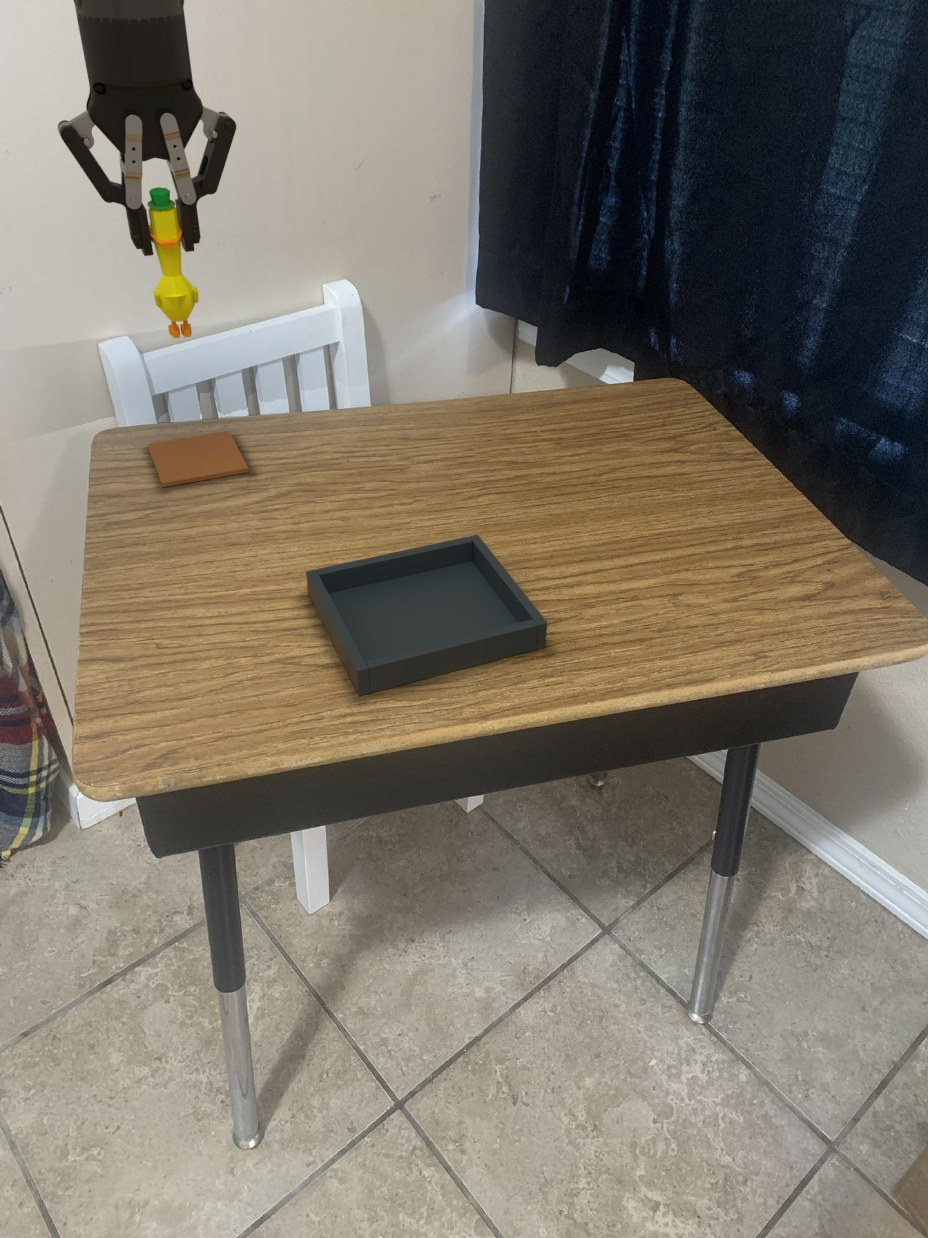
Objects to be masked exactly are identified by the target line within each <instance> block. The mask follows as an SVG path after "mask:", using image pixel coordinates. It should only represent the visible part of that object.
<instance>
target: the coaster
mask: <svg viewBox="0 0 928 1238" xmlns="http://www.w3.org/2000/svg"><path fill="white" fill-rule="evenodd" d="M147 449H148V452H149V454H150V457H151V460H152V463H153V466H154V468H155V470H156V473H157V477H158V479H159V482H160V483H161V484H160V485H161V487H162V488H167V487H173V486H174V487H175V486H179V485H186V484H190V483H196V482H202V481H207V480H214V479H218V478H225V477H229V476H236V475H241V474H247V473H249V472H250V469H249V466H248V464H247V463H246V461H245V458H244V457H243V455H242V453H241V451H240V449H239V447H238V445H237V443H236V441H235V439H234V436H233V435H232V433H231V431H230V430H226V431H220V432H214V433H213V432H212V433H207V434H200V435H195V436H188V437H183V438H177V439H170V440H164V441H157V442H152V443H147Z"/></svg>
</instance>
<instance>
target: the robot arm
mask: <svg viewBox="0 0 928 1238" xmlns="http://www.w3.org/2000/svg"><path fill="white" fill-rule="evenodd" d="M73 3H74V8H75V9H74V10H75V14H76V20H77V25H78V31H79V36H80V42H81V46H82V52H83V53H82V54H83V57H84V64H85V69H86V74H87V80H88V87H89V93H88V97H87V101H86V105H85V108H86V110H85V111H84V112H82V113H80V114H79V115H77V116H75V117H73V118H72V119H70V120H67V119H63V120H61V121H59V122H58V124H57V131H58V134H59V136H60V138H61V141H63V143H64V145H65V146H66V147H67V149H68V150H69V152H70V153H71V155H72V156H73V158H74V159H75V161H76V162H77V163H78V165H79V167H80V168H81V170H82V171H83V172H84V174H85V176H86V177H87V179H88V180H89V181H90V183H91V184H92V186H93V187H94V189H95V190H96V192H97V193H98V195H99V196H100V198H101V199H102V200H103V202H105V203H107V204H112V203H113V204H114V203H115V204H119V205H121V206H123V208H125V212H126V213H125V214H126V219H127V224H128V230H129V236H130V240H131V242H132V244H133V245H134V247H135V249H136V250H141V253H142V254H143V256H144V257H150V256H154V250H153V249H154V248H153V242H152V241H151V236H150V230H149V225H150V223H149V218H148V212H147V208H146V206H145V205H144V203H143V187H142V185H143V182H142V181H143V180H142V179H143V162H147V161H149V160H153V159H158V160H163V161H166V164H167V167H168V169H169V172H170V176H171V179H172V183H173V186H174V189H175V192H176V195H177V198H175V199H174V202H175V207H176V210H177V217H178V224H179V227H180V228H181V230H182V240H181V248H182V249H183V250H184V252H185V253H189V252H195V245H196V244H197V245H198V244H200V241H201V237H202V236H201V229H200V222H199V221H200V220H199V215H198V209H197V208H198V207H197V206H198V202H199V200H200V199H202V198H203V197H205V196H207V195H214V194H215V193H217V192H218V189H219V186H220V182H221V179H222V176H223V172H224V170H225V166H226V163H227V159H228V157H229V153H230V151H231V147H232V144H233V142H234V141H233V140H234V137H235V133H236V130H237V123H236V120H234V119H233V118H232V117H231V116H230V115H229V114H227V112H225V111H219V112H218V111H216V110H213V109H211V108H208V107H206V106H203V102H202V100H201V98H200V96H199V95H198V93H197V91H196V89H195V86H194V80H193V73H192V66H191V65H192V64H191V57H190V48H189V40H188V33H187V25H186V17H185V8H184V5H185V0H73ZM200 121H201V122H202V124H203V125H202V133H203V135H204V137H205V138H206V139H207V141H206V144H205V148H204V151H203V154H202V158H201V161H200V165H199V168H198V171H197V175H196V176H194V177H192V176H191V171H190V167H189V166H190V165H189V161H188V160H187V155H186V152H185V150H186V147H187V146H188V143H189V142H190V140H191V138H192V136H193V134H194V132H195V130H196V128H197V127H198V124H199V123H200ZM94 127H96V128H97V129H98V130H99V131H100V132H101V133H102V134H103V135H104V136H105V138H106V139H107V140H108V141H109V142H110V143H111V144H112V145H113V146H114V148H115V149H116V150H117V151H118V152H119V167H120V183H118V182H115V181H112V180H110V179H109V177H108V176H107V174H106V172H105V171H104V169H103V168H102V166H101V164H100V163H99V162H98V160H97V159H96V157H95V156H94V154H93V153H92V151H91V149H92V148H93V147H94V146H95V138H94V136H93V132H92V131H93V128H94Z"/></svg>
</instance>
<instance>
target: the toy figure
mask: <svg viewBox="0 0 928 1238" xmlns="http://www.w3.org/2000/svg"><path fill="white" fill-rule="evenodd" d="M148 193H149V196H150V200H149V201H148V202H147V207H148V209H147V210H148V217H149V230H150V236H151V242H152V244H153V245H154V249H155V251H156V252H155V253H156V256H157V258H158V261H159V266H160V269H161V273H162V276H161V277H160V279H159V281H158V283H157V285H156V287H155V289H154V290H153V297H154V303H155V305H156V307H158V308H159V310H160V311H161V312H162V313H163V314H164V315H165V316H166V318H167V319H168V320H170V323H171V324H168V333H169V335H170V336H171V337H172V338H173V339H178V338H179V339H180V338H181V335H182V336H183V337H184V338H191V336H192V332H193V331H192V325H191V323H189V321H188V319H189V318H190V316H191V313H192V312H193V309H194V307H195V305H196V304H198V303H199V301H200V297H199V290H198V288H197V286H194V285H193V284H192V283H191V282H190V281H189V280H188V279H187V278H186V277H185V275H184V274H182V243H181V240H182V230H181V228H180V227H179V224H178V217H177V210H176V204H175V200H172V199H171V190H170V189H168V188H167V187H160V186H158V187H154V188H151V189H149V191H148ZM177 322H180V324H177ZM181 322H182V323H181Z"/></svg>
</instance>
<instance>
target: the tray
mask: <svg viewBox="0 0 928 1238" xmlns="http://www.w3.org/2000/svg"><path fill="white" fill-rule="evenodd" d="M305 573H306V575H305V577H306V587H307V596H308V599H309V600H310V602H311V605H312V606H313V608H314V610H315V612H316V615H317V616H318V618H319V620H320V622H321V624H322V626H323V628H324V630H325V632H326V634H327V636H328V639H330V642H331V644H332V646H333V648H334V650H335V652H336V654H337V656H338V657H339V660H340V662H341V664H342V665H343V668H344V669H345V671H346V673H347V675H348V677H349V680H350V681H351V684H352V685H353V687H354V689H355V692H356V693H357V696H359V697H362V696H366V695H369V694H373V693H377V692H380V691H384V690H388V689H392V688H395V687H400V686H403V685H407V684H412V683H415V682H419V681H423V680H427V679H430V678H434V677H438V676H442V675H445V674H449V673H453V672H457V671H461V670H465V669H468V668H472V667H475V666H479V665H484V664H487V663H491V662H494V661H495V662H496V661H500V660H502V659H506V658H511V657H514V656H518V655H523V654H525V653H530V652H533V651H537V650H542V649H545V648H546V642H547V641H546V639H547V631H548V621H547V620H546V618H545V617H544V616H543V615H542V613H540V611H539V610H538V609H537V607H536V606H535V605H534V603H533V602H532V601H531V600H530V598H529V597H528V596H527V595H526V593H525V592H524V591H523V590H522V588H521V587H520V586H519V585H518V583H517V582H516V581H515V580H514V578H513V577H512V576H511V575H510V573H509V572H508V570H506V568H505V567H504V566H503V565H502V563H501V562H500V560H499V559H498V558H497V557H496V556H495V554H494V553H493V552H492V550H491V549H490V548H489V547H488V545H487V544H486V543H485V542H484V541H483V539H482V537H480V535H479V534H474V535H470V536H464V537H459V538H455V539H450V540H446V541H440V542H436V543H432V544H427V545H421V546H418V547H413V548H407V549H403V550H398V551H395V552H389V553H386V554H385V553H384V554H381V555H375V556H371V557H366V558H361V559H357V560H352V561H347V562H343V563H339V564H333V565H328V566H324V567H319V568H316V569H315V568H314V569H310V570H306V571H305Z"/></svg>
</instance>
